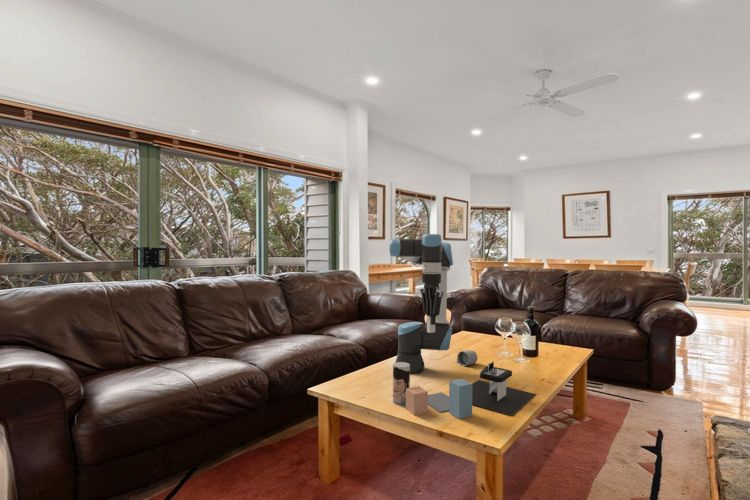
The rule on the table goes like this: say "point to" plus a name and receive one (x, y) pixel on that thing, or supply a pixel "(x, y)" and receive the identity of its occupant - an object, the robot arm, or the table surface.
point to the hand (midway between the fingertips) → (431, 332)
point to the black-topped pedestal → (498, 391)
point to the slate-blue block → (460, 398)
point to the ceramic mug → (466, 357)
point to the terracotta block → (416, 400)
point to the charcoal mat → (439, 402)
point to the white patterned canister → (400, 382)
